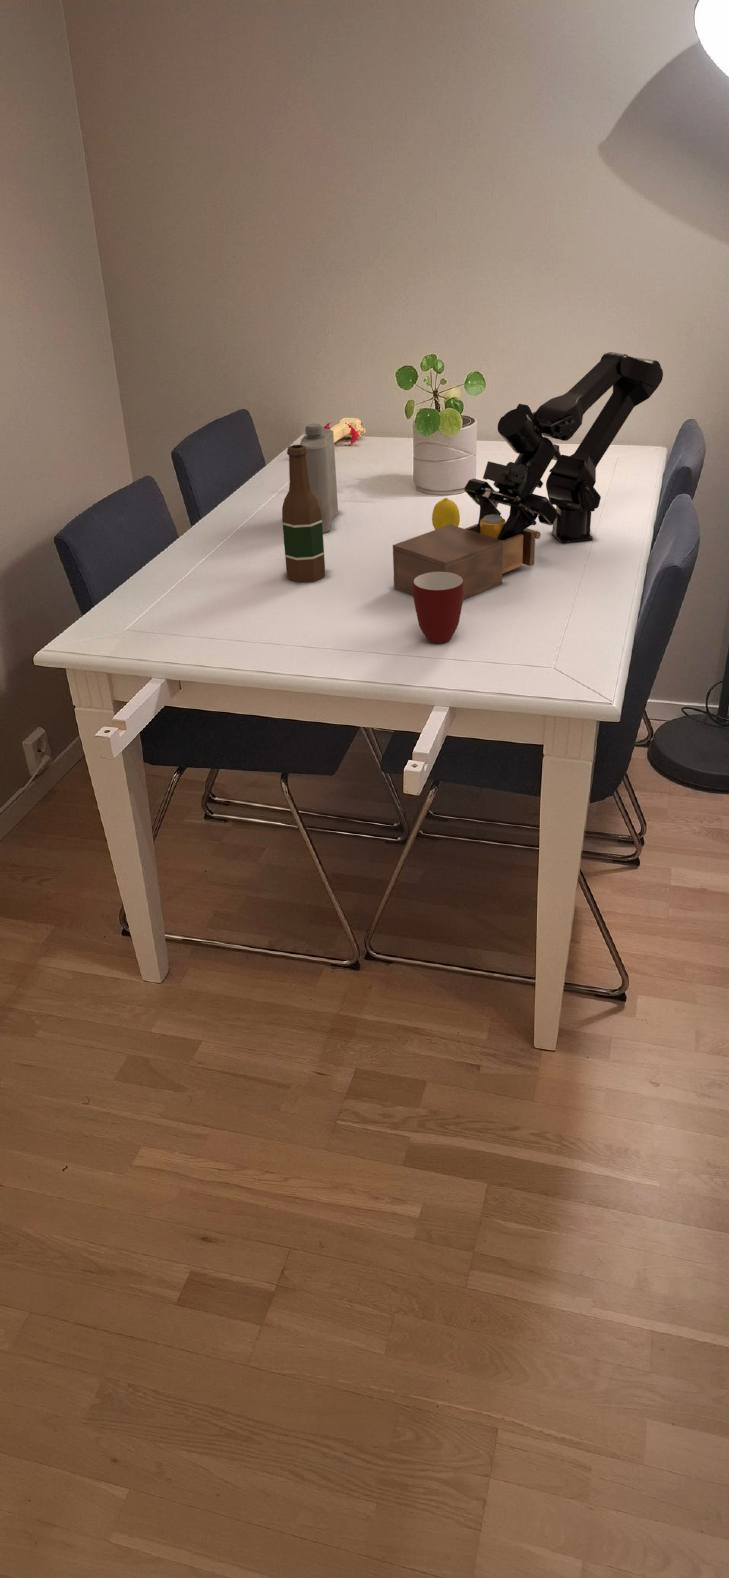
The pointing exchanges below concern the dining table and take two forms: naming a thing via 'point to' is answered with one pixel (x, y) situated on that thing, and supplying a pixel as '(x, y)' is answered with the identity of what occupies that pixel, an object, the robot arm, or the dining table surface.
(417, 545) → the cabinet
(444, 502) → the lemon
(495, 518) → the yellow jar
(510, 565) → the drawer
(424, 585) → the mug
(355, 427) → the meaty bone
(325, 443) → the flask
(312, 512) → the beer bottle
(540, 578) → the dining table surface
